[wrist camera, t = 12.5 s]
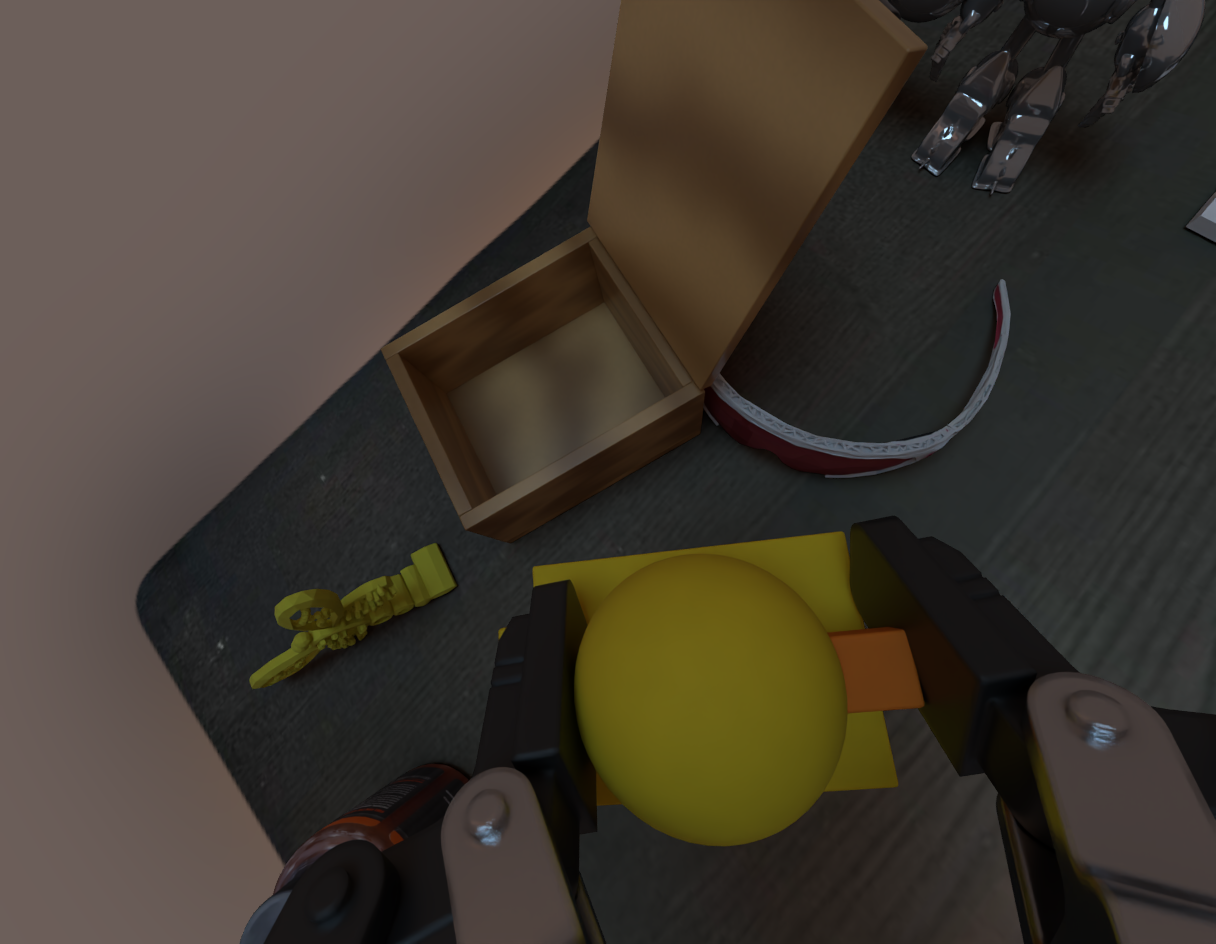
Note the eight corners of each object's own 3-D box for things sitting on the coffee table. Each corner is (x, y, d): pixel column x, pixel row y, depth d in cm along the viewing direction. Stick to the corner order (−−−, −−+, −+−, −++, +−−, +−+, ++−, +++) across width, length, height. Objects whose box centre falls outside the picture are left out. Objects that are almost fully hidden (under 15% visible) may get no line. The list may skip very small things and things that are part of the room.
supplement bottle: (367, 806, 29) (181, 931, 18) (448, 737, 30) (311, 819, 19) (423, 906, 28) (255, 1107, 17) (508, 832, 28) (397, 982, 17)
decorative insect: (418, 633, 36) (253, 702, 29) (401, 592, 37) (236, 649, 30) (492, 553, 28) (286, 622, 21) (467, 503, 29) (261, 552, 22)
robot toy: (821, 139, 35) (916, -177, 21) (863, 72, 36) (982, -277, 22) (1046, 218, 32) (1350, -97, 17) (1087, 142, 32) (1411, -222, 18)
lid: (909, 50, 12) (1029, 28, 13) (651, -199, 15) (770, -194, 16) (700, 390, 25) (771, 360, 26) (586, 220, 28) (655, 202, 29)
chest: (510, 543, 32) (465, 530, 25) (437, 394, 35) (380, 348, 28) (701, 433, 32) (705, 391, 25) (610, 294, 35) (593, 224, 28)
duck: (559, 745, 16) (386, 958, 6) (547, 578, 17) (389, 555, 8) (828, 725, 15) (1071, 936, 6) (795, 550, 16) (950, 489, 7)
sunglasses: (631, 409, 32) (630, 363, 28) (746, 230, 37) (761, 167, 33) (904, 543, 28) (956, 515, 24) (991, 322, 33) (1048, 264, 29)
